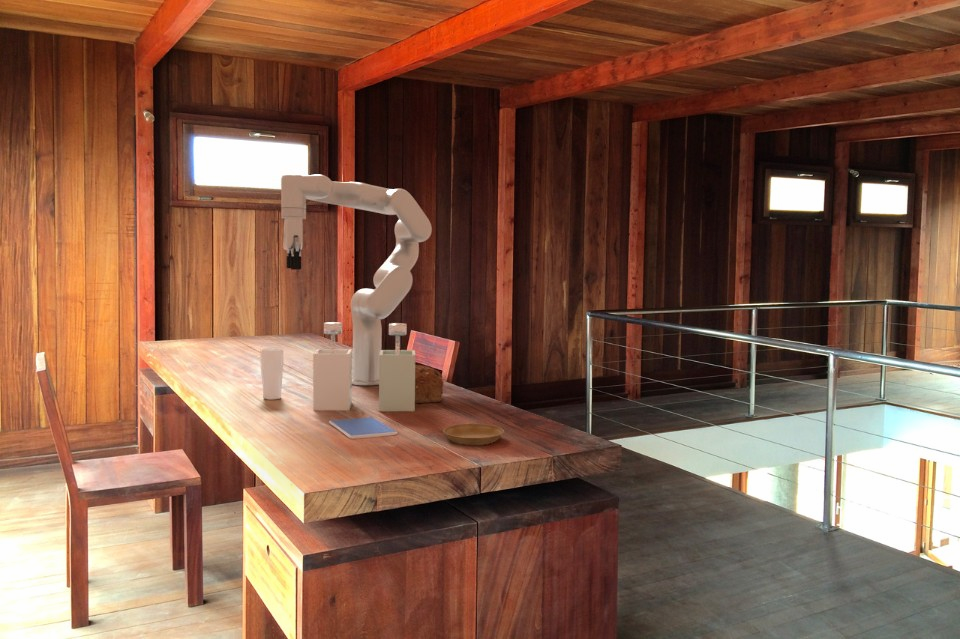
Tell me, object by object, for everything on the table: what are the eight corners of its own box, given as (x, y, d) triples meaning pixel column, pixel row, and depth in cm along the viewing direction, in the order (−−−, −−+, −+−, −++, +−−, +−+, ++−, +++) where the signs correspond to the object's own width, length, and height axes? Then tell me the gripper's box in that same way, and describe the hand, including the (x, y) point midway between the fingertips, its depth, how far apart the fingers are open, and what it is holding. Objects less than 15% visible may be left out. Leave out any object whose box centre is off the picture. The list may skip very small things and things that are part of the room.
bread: (443, 402, 242) (444, 369, 241) (409, 404, 238) (409, 371, 237) (424, 391, 259) (424, 360, 258) (392, 393, 255) (392, 361, 254)
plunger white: (320, 391, 236) (320, 321, 234) (347, 391, 236) (347, 321, 234) (318, 396, 228) (317, 324, 226) (345, 396, 229) (345, 324, 227)
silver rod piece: (384, 392, 236) (384, 322, 234) (410, 392, 237) (411, 322, 235) (383, 397, 228) (383, 325, 226) (410, 397, 229) (411, 325, 227)
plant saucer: (456, 450, 188) (456, 439, 188) (434, 436, 201) (434, 425, 201) (513, 445, 194) (514, 434, 193) (488, 431, 207) (489, 421, 207)
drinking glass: (277, 401, 239) (277, 350, 237) (256, 399, 240) (256, 349, 239) (287, 396, 246) (287, 347, 244) (267, 395, 247) (266, 346, 245)
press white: (317, 403, 237) (317, 349, 236) (351, 403, 238) (351, 349, 236) (313, 410, 227) (313, 353, 226) (349, 410, 228) (349, 354, 227)
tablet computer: (327, 424, 213) (327, 419, 213) (373, 420, 218) (373, 415, 218) (349, 441, 196) (349, 436, 195) (398, 436, 201) (398, 431, 201)
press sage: (380, 404, 237) (380, 350, 236) (414, 404, 238) (414, 350, 237) (379, 411, 227) (379, 354, 226) (414, 411, 228) (415, 355, 227)
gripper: (278, 214, 260) (278, 267, 261) (284, 213, 244) (285, 269, 245) (301, 215, 262) (301, 267, 264) (310, 213, 246) (310, 270, 248)
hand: (293, 268), depth 255 cm, fingers open, 9 cm apart
